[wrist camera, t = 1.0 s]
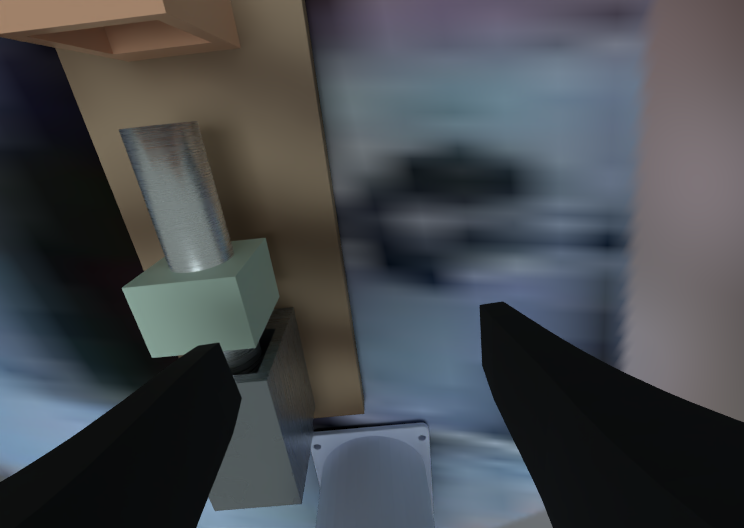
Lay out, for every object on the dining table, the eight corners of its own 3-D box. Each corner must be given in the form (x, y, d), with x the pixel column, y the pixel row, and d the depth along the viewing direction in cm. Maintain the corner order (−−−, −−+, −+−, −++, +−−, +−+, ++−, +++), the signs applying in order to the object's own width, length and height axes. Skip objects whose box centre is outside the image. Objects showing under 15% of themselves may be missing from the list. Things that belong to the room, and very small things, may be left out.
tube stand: (364, 401, 23) (363, 509, 17) (212, 415, 23) (157, 526, 17) (290, -96, 13) (222, -275, 7) (31, -62, 14) (-251, -203, 7)
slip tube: (308, 419, 20) (295, 488, 17) (239, 425, 20) (211, 494, 17) (236, 117, 14) (190, 120, 10) (136, 128, 14) (55, 136, 10)
